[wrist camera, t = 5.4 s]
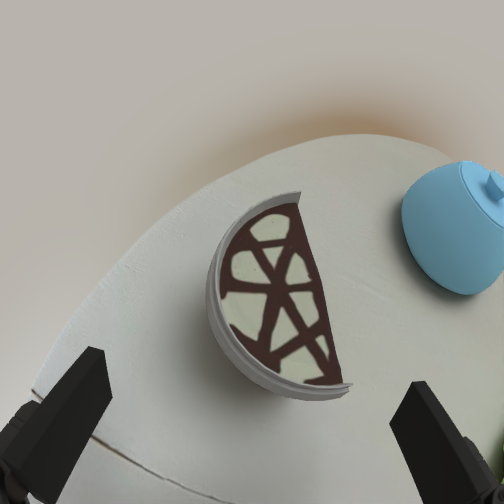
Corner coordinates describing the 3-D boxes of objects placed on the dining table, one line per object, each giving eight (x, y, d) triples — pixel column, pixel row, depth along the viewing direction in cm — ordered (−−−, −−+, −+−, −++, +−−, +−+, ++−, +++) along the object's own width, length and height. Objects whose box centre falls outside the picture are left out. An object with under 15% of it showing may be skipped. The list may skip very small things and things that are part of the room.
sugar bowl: (380, 186, 32) (421, 111, 22) (463, 203, 33) (506, 148, 23) (410, 303, 25) (488, 240, 15) (496, 300, 26) (559, 253, 16)
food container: (205, 267, 25) (196, 190, 16) (274, 261, 26) (298, 184, 17) (222, 413, 19) (219, 422, 11) (302, 401, 20) (355, 395, 11)
